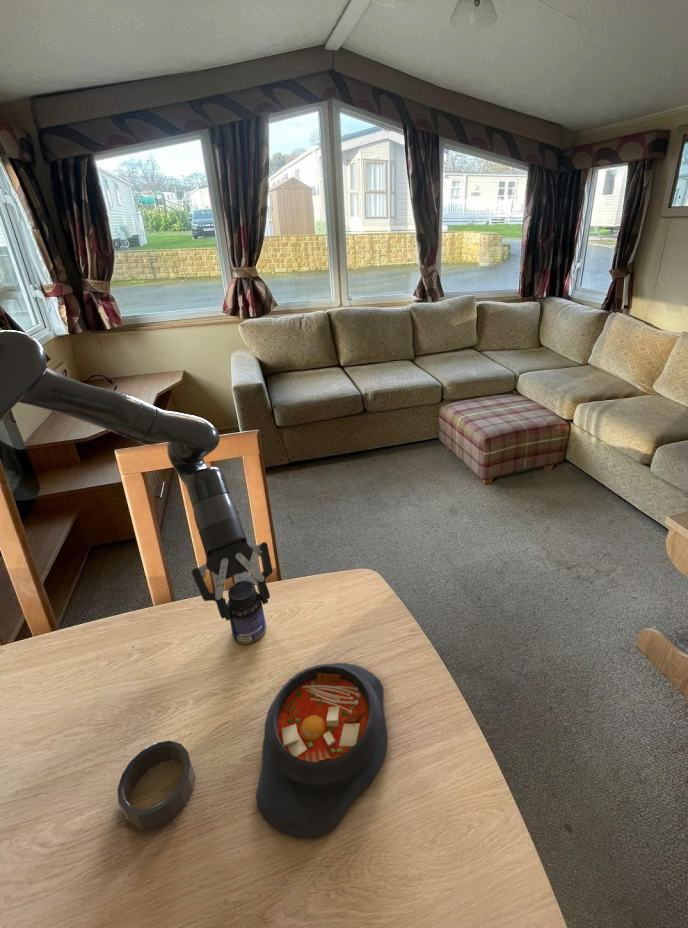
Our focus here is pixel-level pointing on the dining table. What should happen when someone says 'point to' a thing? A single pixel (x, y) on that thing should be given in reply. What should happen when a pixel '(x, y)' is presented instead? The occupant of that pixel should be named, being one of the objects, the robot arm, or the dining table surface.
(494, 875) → the dining table surface
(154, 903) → the dining table surface
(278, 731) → the casserole
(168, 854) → the dining table surface
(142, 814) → the ring
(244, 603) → the pill bottle
